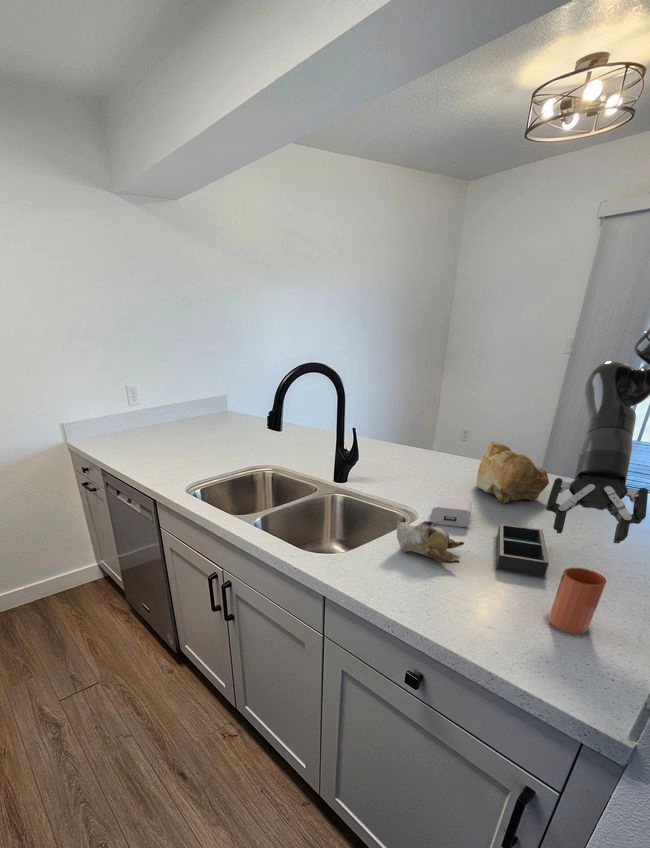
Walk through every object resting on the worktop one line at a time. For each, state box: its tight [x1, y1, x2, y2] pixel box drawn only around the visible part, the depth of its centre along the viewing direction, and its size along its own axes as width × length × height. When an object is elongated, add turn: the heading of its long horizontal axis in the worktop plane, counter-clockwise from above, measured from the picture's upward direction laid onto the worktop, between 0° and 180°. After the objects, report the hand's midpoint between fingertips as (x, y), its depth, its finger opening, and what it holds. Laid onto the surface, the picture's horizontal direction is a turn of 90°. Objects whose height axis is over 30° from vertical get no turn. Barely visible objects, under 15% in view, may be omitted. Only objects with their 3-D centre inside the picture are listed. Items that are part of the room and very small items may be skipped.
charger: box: [430, 495, 473, 528], centre depth 120 cm, size 5×9×15 cm
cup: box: [548, 567, 607, 635], centre depth 76 cm, size 6×6×10 cm
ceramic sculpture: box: [396, 520, 465, 564], centre depth 100 cm, size 11×9×15 cm
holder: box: [495, 523, 550, 579], centre depth 99 cm, size 9×17×4 cm, turn 152°
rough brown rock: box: [476, 441, 550, 504], centre depth 127 cm, size 23×17×15 cm
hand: (587, 536), depth 79 cm, fingers open, 8 cm apart
